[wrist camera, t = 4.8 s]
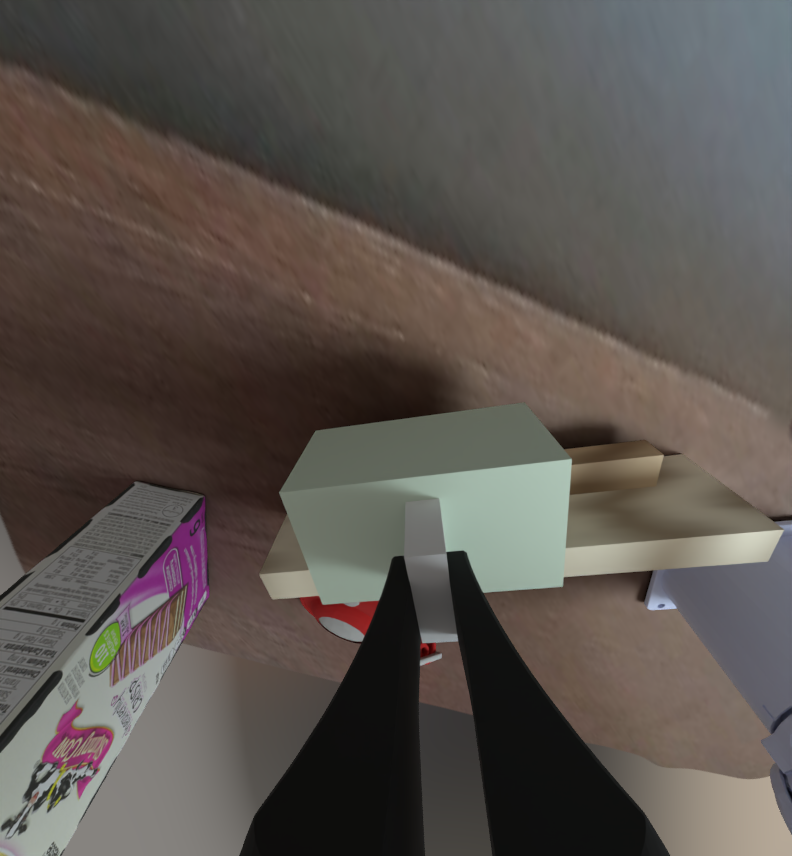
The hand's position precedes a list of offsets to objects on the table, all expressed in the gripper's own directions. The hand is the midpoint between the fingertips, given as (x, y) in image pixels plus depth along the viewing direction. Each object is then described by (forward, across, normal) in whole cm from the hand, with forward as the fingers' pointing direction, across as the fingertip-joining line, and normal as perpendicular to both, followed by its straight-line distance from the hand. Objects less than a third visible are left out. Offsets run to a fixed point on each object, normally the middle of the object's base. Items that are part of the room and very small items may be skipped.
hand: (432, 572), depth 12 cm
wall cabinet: (+6, 0, 0) cm, 6 cm away
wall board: (+9, -3, +4) cm, 11 cm away
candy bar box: (+10, +19, +6) cm, 22 cm away
